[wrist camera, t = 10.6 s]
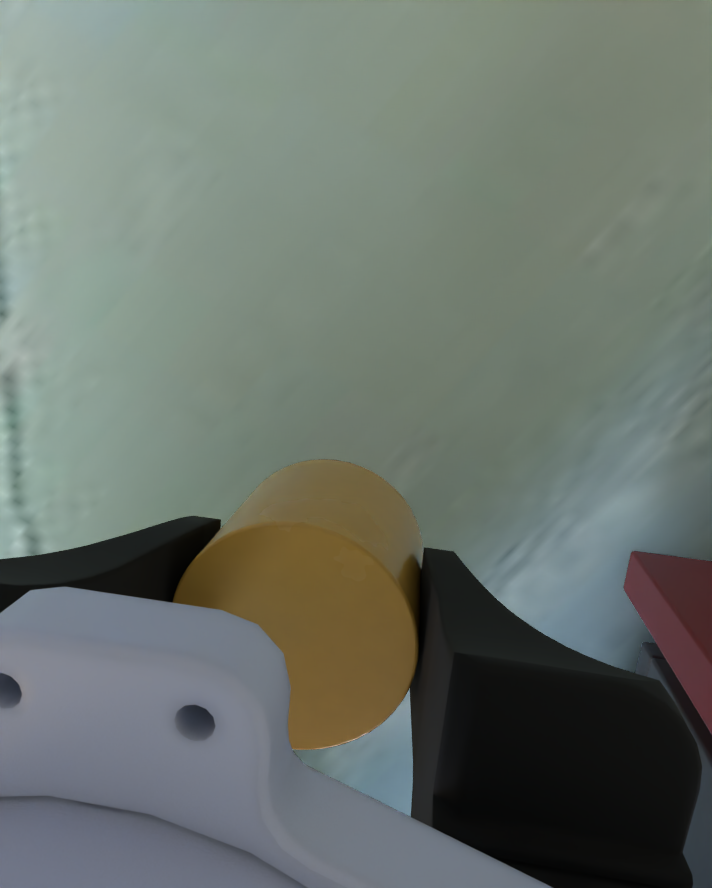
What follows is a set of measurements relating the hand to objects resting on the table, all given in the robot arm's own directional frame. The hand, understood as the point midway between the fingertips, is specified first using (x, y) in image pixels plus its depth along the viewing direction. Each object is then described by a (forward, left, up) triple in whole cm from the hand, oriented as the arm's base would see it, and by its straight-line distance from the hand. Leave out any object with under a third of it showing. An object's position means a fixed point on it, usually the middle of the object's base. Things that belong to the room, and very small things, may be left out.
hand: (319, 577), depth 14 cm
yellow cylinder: (0, 0, -1) cm, 1 cm away
